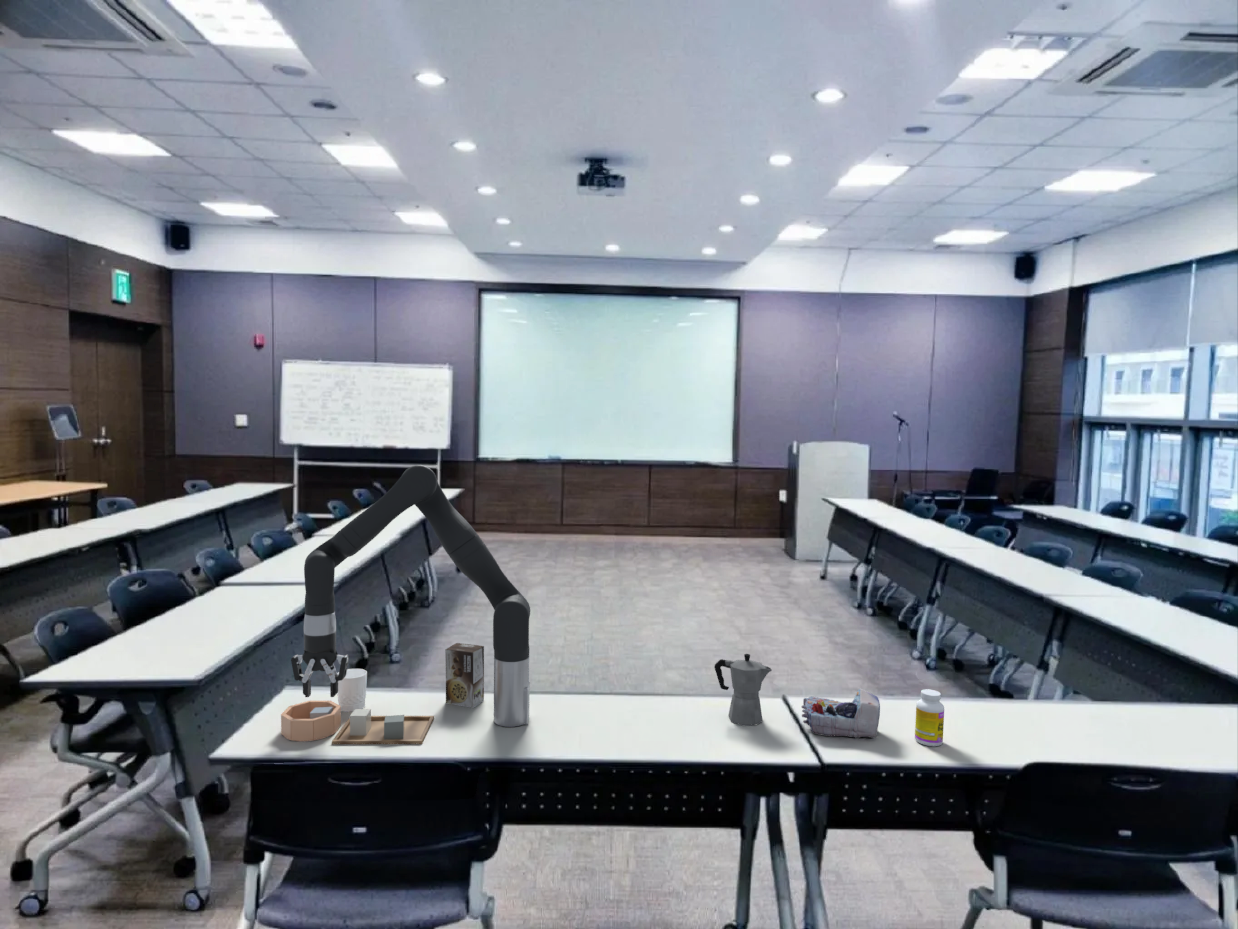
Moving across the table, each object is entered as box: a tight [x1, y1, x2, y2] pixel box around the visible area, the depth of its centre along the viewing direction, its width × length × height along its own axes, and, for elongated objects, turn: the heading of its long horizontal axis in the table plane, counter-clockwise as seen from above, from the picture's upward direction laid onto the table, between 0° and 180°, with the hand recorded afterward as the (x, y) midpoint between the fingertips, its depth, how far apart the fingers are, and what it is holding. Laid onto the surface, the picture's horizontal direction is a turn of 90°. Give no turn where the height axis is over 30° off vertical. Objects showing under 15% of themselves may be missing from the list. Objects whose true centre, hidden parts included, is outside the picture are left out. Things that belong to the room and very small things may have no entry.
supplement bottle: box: [914, 688, 945, 747], centre depth 195 cm, size 7×7×13 cm
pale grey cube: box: [349, 708, 372, 735], centre depth 193 cm, size 4×4×5 cm
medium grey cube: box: [384, 714, 405, 740], centre depth 191 cm, size 5×4×4 cm
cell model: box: [801, 688, 881, 739], centre depth 201 cm, size 13×11×20 cm
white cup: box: [336, 668, 368, 713], centre depth 209 cm, size 8×8×10 cm
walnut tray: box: [331, 715, 435, 746], centre depth 194 cm, size 22×16×1 cm
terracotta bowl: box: [280, 700, 342, 742], centre depth 193 cm, size 13×13×6 cm
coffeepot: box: [714, 653, 772, 727], centre depth 207 cm, size 15×9×18 cm, turn 70°
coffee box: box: [444, 642, 485, 708], centre depth 214 cm, size 9×6×16 cm
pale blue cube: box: [310, 707, 333, 719], centre depth 193 cm, size 4×4×5 cm
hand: (320, 695), depth 193 cm, fingers open, 5 cm apart
